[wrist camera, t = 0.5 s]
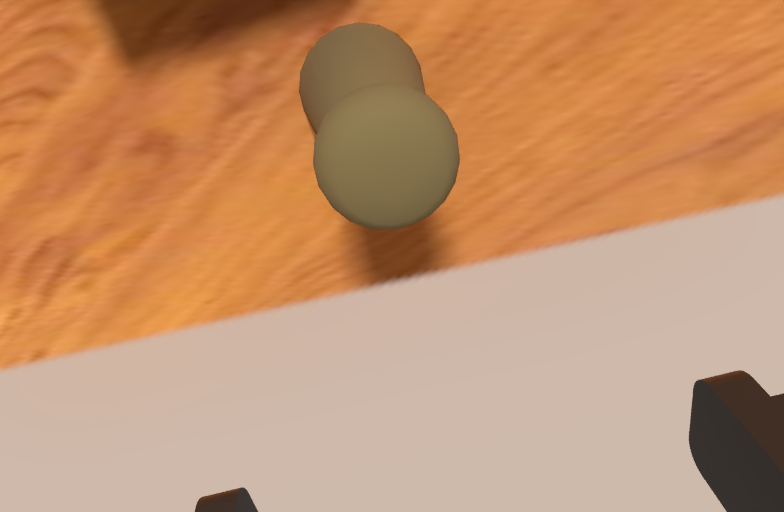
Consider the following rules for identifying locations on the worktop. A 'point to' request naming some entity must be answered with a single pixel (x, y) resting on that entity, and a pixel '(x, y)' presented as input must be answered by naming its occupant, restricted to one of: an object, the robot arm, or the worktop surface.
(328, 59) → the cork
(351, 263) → the worktop surface
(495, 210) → the worktop surface
